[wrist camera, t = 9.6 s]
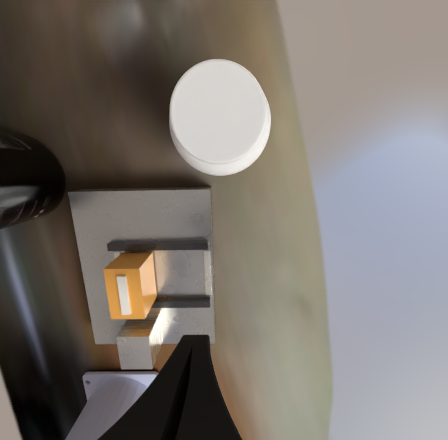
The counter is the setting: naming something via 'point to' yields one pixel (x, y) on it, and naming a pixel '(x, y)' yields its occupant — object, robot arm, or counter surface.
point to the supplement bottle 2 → (219, 117)
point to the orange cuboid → (130, 285)
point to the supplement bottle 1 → (27, 180)
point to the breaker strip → (163, 263)
